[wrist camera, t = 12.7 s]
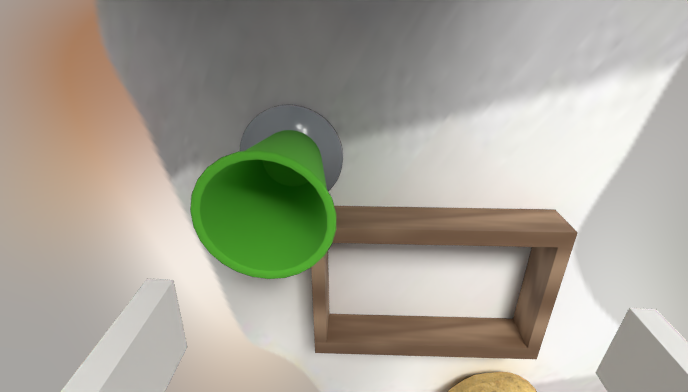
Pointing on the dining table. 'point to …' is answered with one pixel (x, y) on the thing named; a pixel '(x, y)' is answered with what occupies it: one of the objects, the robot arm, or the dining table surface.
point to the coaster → (304, 123)
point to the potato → (494, 383)
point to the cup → (266, 207)
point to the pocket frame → (448, 332)
